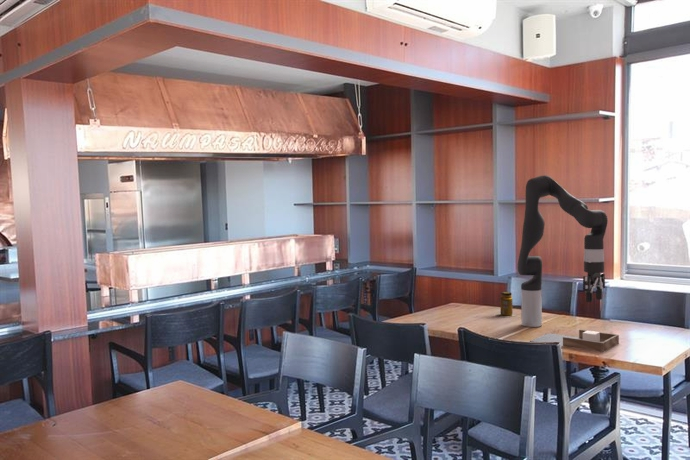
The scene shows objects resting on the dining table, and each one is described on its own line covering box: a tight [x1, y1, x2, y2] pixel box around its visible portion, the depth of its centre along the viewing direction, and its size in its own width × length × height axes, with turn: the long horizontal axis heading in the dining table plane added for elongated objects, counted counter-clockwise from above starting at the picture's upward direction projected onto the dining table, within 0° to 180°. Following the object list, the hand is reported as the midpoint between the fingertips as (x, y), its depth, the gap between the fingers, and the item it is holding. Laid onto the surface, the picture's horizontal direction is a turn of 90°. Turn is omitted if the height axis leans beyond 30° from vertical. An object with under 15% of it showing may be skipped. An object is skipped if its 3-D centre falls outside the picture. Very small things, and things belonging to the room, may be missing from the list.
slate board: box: [529, 332, 619, 353], centre depth 243 cm, size 18×30×1 cm, turn 47°
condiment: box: [494, 291, 515, 318], centre depth 305 cm, size 7×8×12 cm
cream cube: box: [583, 330, 601, 342], centre depth 238 cm, size 5×5×5 cm
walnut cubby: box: [562, 329, 620, 353], centre depth 238 cm, size 18×16×4 cm
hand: (594, 300), depth 234 cm, fingers open, 8 cm apart
